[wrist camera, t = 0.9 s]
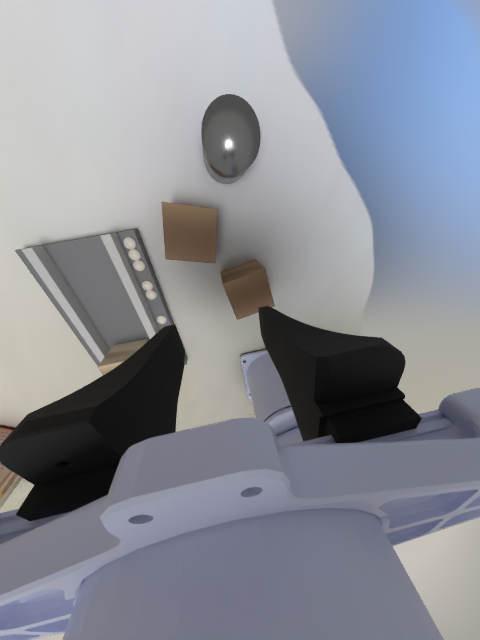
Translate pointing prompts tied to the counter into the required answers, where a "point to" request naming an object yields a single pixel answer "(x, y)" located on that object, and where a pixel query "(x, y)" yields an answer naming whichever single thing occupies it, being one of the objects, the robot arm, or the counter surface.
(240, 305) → the walnut block
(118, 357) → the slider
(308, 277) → the counter surface
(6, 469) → the cracker box
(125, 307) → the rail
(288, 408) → the robot arm
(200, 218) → the walnut block
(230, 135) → the metal peg
